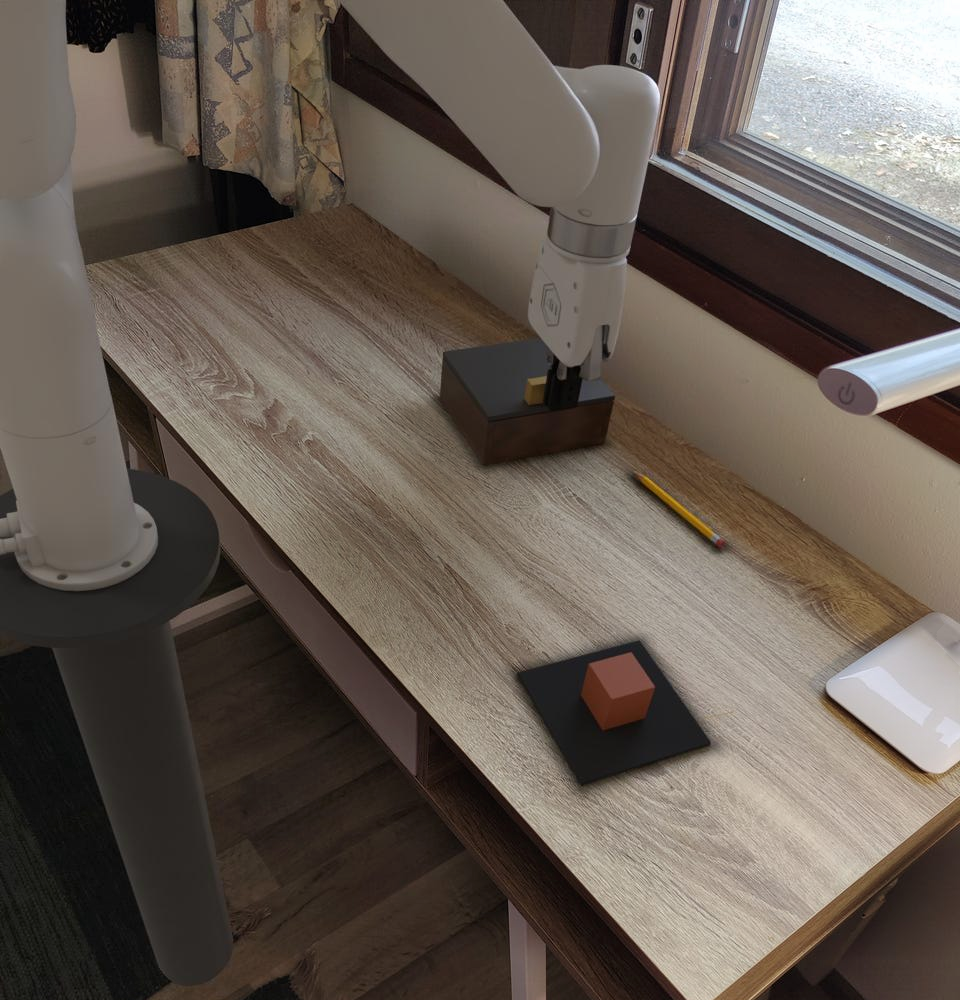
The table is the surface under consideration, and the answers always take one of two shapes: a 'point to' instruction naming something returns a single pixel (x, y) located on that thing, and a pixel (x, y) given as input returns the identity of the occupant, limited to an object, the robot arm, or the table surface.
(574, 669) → the mat
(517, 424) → the box
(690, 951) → the table surface
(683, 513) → the pencil
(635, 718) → the block
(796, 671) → the table surface
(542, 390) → the sliding lid
